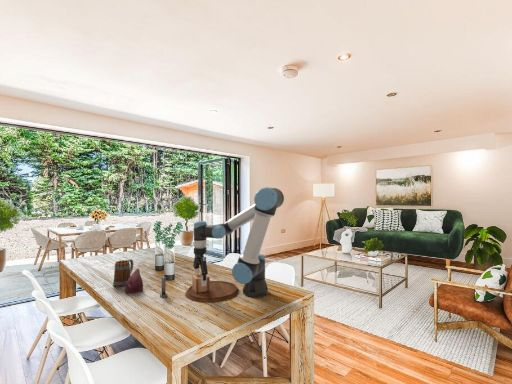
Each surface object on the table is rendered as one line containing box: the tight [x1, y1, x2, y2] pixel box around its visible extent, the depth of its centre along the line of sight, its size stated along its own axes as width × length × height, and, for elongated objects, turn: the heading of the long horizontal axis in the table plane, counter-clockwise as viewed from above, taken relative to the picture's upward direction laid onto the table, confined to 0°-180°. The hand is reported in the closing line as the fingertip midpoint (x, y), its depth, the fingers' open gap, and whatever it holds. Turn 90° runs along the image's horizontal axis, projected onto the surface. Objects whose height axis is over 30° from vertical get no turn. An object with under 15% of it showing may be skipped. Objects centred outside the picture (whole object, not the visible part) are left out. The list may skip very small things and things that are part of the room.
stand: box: [159, 276, 168, 298], centre depth 155 cm, size 4×4×11 cm
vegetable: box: [124, 267, 144, 295], centre depth 165 cm, size 10×10×15 cm
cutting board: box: [184, 280, 240, 304], centre depth 162 cm, size 32×32×3 cm
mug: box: [112, 258, 134, 288], centre depth 179 cm, size 16×11×15 cm
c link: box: [191, 273, 211, 293], centre depth 160 cm, size 8×8×8 cm
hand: (200, 282), depth 160 cm, fingers open, 13 cm apart
